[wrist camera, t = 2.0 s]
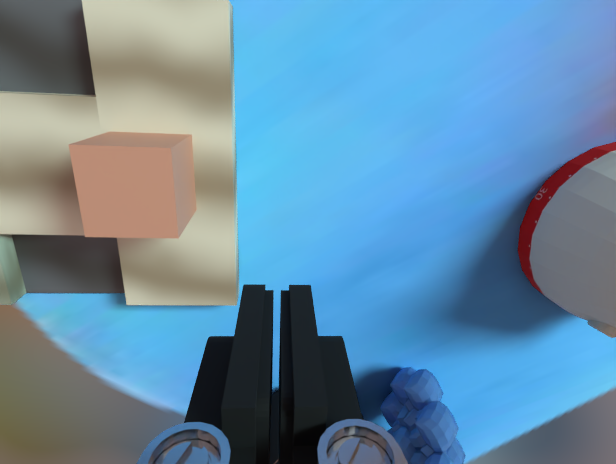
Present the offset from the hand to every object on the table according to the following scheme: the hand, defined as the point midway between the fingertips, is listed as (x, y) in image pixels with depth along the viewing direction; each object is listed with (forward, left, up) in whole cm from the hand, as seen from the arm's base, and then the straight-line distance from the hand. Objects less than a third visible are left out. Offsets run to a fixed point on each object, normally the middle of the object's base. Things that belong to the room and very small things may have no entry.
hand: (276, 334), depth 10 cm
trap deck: (0, -15, -19) cm, 24 cm away
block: (0, -8, -17) cm, 19 cm away
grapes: (+21, +12, -19) cm, 31 cm away
